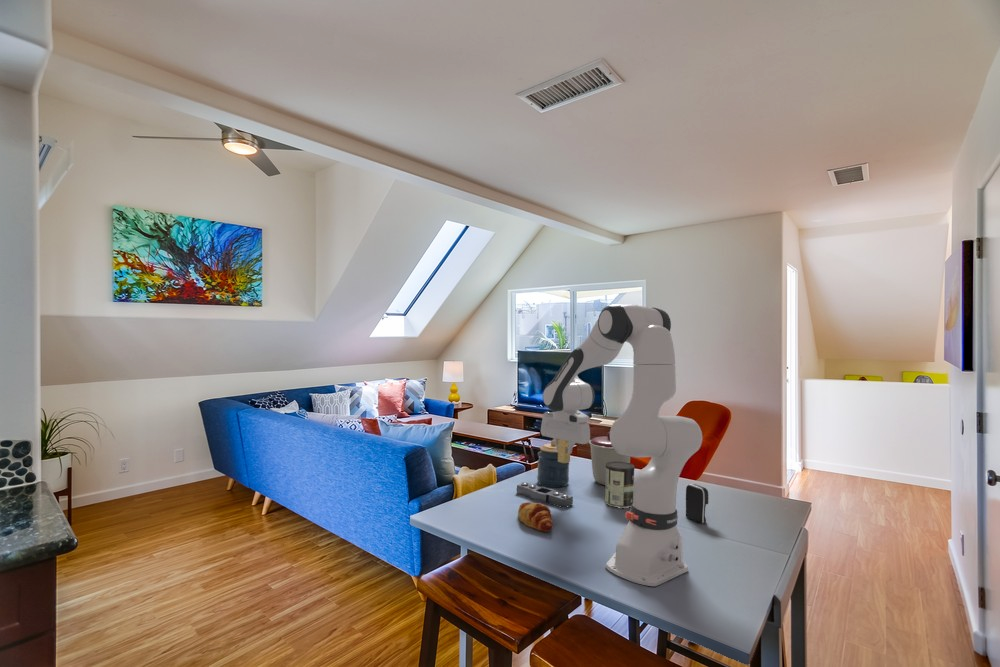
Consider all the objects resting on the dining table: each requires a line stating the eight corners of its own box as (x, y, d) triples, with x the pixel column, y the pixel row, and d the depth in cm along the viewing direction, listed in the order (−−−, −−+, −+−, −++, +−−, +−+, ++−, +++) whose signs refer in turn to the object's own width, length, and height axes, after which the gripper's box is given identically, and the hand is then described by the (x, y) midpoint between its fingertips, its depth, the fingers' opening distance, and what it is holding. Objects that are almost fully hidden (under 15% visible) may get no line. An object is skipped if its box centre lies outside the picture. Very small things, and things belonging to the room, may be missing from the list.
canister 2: (635, 480, 202) (636, 430, 203) (628, 492, 186) (630, 438, 186) (593, 473, 210) (594, 426, 210) (583, 485, 193) (584, 433, 193)
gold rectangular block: (564, 463, 175) (565, 438, 175) (557, 461, 177) (558, 437, 177) (569, 461, 177) (570, 437, 177) (562, 460, 179) (563, 436, 179)
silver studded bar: (562, 509, 166) (563, 498, 166) (515, 493, 181) (515, 484, 181) (574, 504, 171) (574, 494, 171) (526, 489, 186) (526, 480, 186)
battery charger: (709, 522, 157) (710, 488, 157) (701, 524, 155) (702, 489, 155) (692, 515, 163) (693, 482, 163) (684, 517, 161) (685, 483, 162)
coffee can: (629, 499, 178) (630, 461, 178) (637, 509, 168) (638, 469, 168) (602, 498, 178) (602, 460, 178) (607, 508, 168) (608, 468, 168)
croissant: (514, 522, 162) (504, 502, 161) (537, 505, 166) (528, 486, 165) (542, 547, 143) (531, 525, 141) (568, 527, 146) (558, 505, 145)
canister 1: (534, 478, 201) (535, 436, 201) (564, 478, 203) (565, 436, 203) (540, 488, 188) (541, 443, 188) (572, 487, 190) (573, 443, 190)
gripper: (537, 411, 182) (536, 448, 182) (583, 419, 168) (582, 458, 168) (547, 410, 186) (546, 445, 186) (592, 417, 172) (591, 455, 172)
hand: (563, 451), depth 177 cm, fingers closed on gold rectangular block, 3 cm apart
